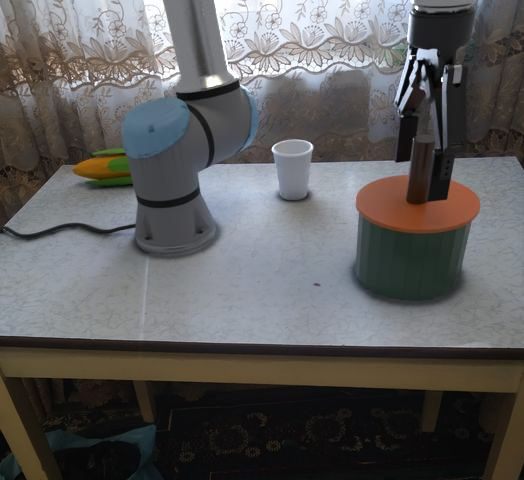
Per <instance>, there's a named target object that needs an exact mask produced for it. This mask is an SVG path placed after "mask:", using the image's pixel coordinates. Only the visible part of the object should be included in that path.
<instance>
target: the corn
mask: <svg viewBox="0 0 524 480" xmlns="http://www.w3.org/2000/svg"><path fill="white" fill-rule="evenodd" d="M101 154H103V155H101ZM91 155H100V156H96V157H93V158H88V159H86V160H84V161H81V162H79V163H77V164H76V165H75V166H74V167H73V168H72V169H71V171H72V172H73V174H74V175H76V176H78V177H82V178H86V179H89V180H87V181H84V182H85V185H91V186H99V187H102V186H103V187H106V186H108V187H109V186H123V185H124V186H125V185H133V182H132V177H131V173H130V169H129V165H128V161H127V157H126V153H125V151H124V149H123V147H120V148H112V149H103V150H99V151H96V152H92V154H91Z"/></svg>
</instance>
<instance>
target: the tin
mask: <svg viewBox="0 0 524 480" xmlns="http://www.w3.org/2000/svg"><path fill="white" fill-rule="evenodd" d="M357 218H358V220H357V235H356V236H357V237H356V252H355V264H354V265H355V267H354V268H355V269H354V273H355V276H356V277H357V280H358V281H359V283H360V284H361V285H362V286H363V287H364V288H366V290H369V291H371V292H372V293H374V294H376V295H379V296H381V297H384V298H387V299H393V300H397V301H403V302H407V301H408V302H419V301H427V300H428V301H429V300H434V299H437V298H439V297H443V296H445V295H446V294H448V293H450V292H451V291H452V292H453V291H454V290H455V289H456V288H457V286H458V284H459V281H460V277H461V273H462V268H463V262H464V258H465V253H466V249H467V244H468V240H469V237H470V231H471V226H472V222H473V221H471V222H470V223H468V224H467V225H464V226H462V227H460V228H457V229H454V230H449V231H445V232H438V233H407V232H400V231H395V230H390V229H387V228H384V227H380V226H378V225H376V224H373V223H372V222H370V221H368V220H366V219H365V218H364V217H363V216H361V215H360V213H359V212H358V217H357Z"/></svg>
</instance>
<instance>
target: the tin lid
mask: <svg viewBox="0 0 524 480" xmlns="http://www.w3.org/2000/svg"><path fill="white" fill-rule="evenodd" d="M434 149H437V148H436V140H435V135H432V134H416V136H415V137H414V138H413V143H412V151H411V159H410V161H409V168H408V174H400V175H399V174H398V175H391V176H387V177H383V178H379V179H376V180H373V181H371V182H369V183H367V184H365V185H364V186H362V187H361V188H360V189H359V190H358V192H357V193H356V195H355V198H354V199H355V200H354V204H355V208H356V211H357V212H358V214H359V213H360V215H361V216H363V217H364V218H365V219H366V220H368V221H370V222H372V223H373V224H376V225H378V226H380V227H384V228H387V229H390V230H395V231H400V232H407V233H438V232H445V231H449V230H454V229H457V228H460V227H462V226H464V225H467V224H468V223H470V222H471V221H472V222H473V221H474V220H476V218H477V217H478V215H479V214H480V210H481V200H480V198H479V196H478V194H477V193H476V192H475V191H474V190H472V188H469V187H468V186H466V185H464V184H462V183H460V182H457V181H455V180H452V179H451V181H450V187H449V192H448V197H447V200H440V201H432V202H427V201H426V194H427V187H428V181H429V174H430V168H431V161H432V154H431V152H432V151H433V150H434Z"/></svg>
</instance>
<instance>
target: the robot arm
mask: <svg viewBox="0 0 524 480" xmlns="http://www.w3.org/2000/svg"><path fill="white" fill-rule="evenodd" d="M162 1H163V8H164V10H165V15H166V19H167V24H168V28H169V33H170V36H171V41H172V46H173V50H174V53H175V59H176V62H177V66H178V71H179V75H180V78H179V80H178V82H177V83H176V85H175V87H174V92H175V95H176V97H160V98H157V99H155V100H152V99H151V100H148V101H145V102H142V103H140V104H138V105H136V106H134V107H133V108H131V109H130V110H129V111H127V112H126V114H125V115H124V116H123V118H122V120H121V124H120V131H121V132H120V133H121V138H122V139H121V140H122V148H123V149H124V151H125V153H126V157H127V161H128V165H129V169H130V173H131V177H132V182H133V184H132V185H133V190H134V193H135V194H134V195H135V197H136V202H137V203H136V204H137V207H136V216H135V223H131V224H126V225H121V226H117V227H114V228H110V229H102V228H97V227H94V226H92V225H89V224H87V223H84V222H69V223H68V222H67V223H62V224H59V225H56V226H53V227H50V228H47V229H44V230H41V231H37V232H33V233H19V232H17V231H16V230H13V229H12V228H10V227H8V226H6V225H4V226H1V227H0V234H2V233H3V232H4V231H6V232H8V233H9V234H11V233H12V234H11V235H13V236H15V238H16V237H17V238H20V239H32V238H38V237H41V236H44V235H47V234H50V233H53V232H55V231H60V230H62V229H66V228H83V229H86V230H89V231H92V232H94V233H98V234H105V235H107V234H108V235H109V234H113V233H117V232H121V231H126V230H132V229H134V236H135V240H136V245H137V246H138V247H139V249H141V250H142V251H144V252H145V253H148V254H149V253H152V254H157V255H178V254H182V253H183V254H185V253H187V252H191V251H194V250H196V249H199V248H201V247H203V246H204V245H206V244H208V243H209V242H210V241H211V240H212V239H213V238H214V236H215V235H216V229H217V228H216V222H215V218H214V216H213V215H212V213H211V211H210V209H209V207H208V205H207V203H206V201H205V199H204V197H203V195H202V192H201V187H200V180H199V173H200V172H202V171H204V170H206V169H208V168H210V167H212V166H214V165H216V164H218V163H220V162H222V161H224V160H226V159H229V158H233V157H235V156H237V155H238V154H240V153H241V151H243V150H245V149H246V148H248V147H249V146H250V145H251V144H252V143H253V141H254V140H255V138H256V135H257V133H258V130H259V124H260V123H259V120H260V119H259V116H260V115H259V110H258V106H257V103H256V100H255V98H254V96H251V91H249V89H248V88H247V87H245V86H244V85H242V84H241V83H240V76H239V74H237V73H236V72H235V71H233V70H232V69H231V68H230V66H229V64H228V58H227V52H226V48H225V42H224V36H223V31H222V25H221V20H220V19H221V18H220V14H219V9H218V4H217V0H162ZM477 1H478V0H410V3H411V4H412V5H413V6H414V8H412V9H411V11H410V12H409V17H408V27H407V36H406V41H407V44H408V47H407V53H406V59H405V63H404V67H403V70H402V74H401V77H400V81H399V84H398V88H397V92H396V96H395V98H394V101H393V104H394V107H395V108H397V116H399V117H398V123H397V133H396V142H395V143H396V144H395V150H394V163H395V164H398V163H408V162H410V159H411V151H412V143H413V138H414V137H415V136H417V135H418V134H417V133H418V125H419V119H420V116H418V115H417V114H420V115H421V114H422V111H421V105H422V104H423V101H424V100H425V98H426V101H427V102H428V103H430V105H431V114H432V115H431V116H432V123H433V130H434V136H435V140H436V149H434V150H433V151H432V152H431V154H432V161H431V168H430V174H429V181H428V187H427V194H426V201H427V202H432V201H440V200H447V197H448V192H449V187H450V181H451V180H452V174H453V170H454V165H455V159H456V155H463V154H466V152H467V151H468V150H467V149H468V137H467V136H468V134H467V133H468V131H467V130H468V129H467V127H468V125H467V124H468V123H467V122H468V121H467V83H468V74H469V64H468V63H467V62H466V63H465V62H464V63H457V52H458V50H459V49H460V48H461V47H465V46H467V45H468V44H469V43H470V42H471V40H472V36H473V29H474V24H475V18H476V10H475V8H474V7H473V6H472V5H473V4H474V3H476V2H477ZM3 229H5V230H3Z"/></svg>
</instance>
